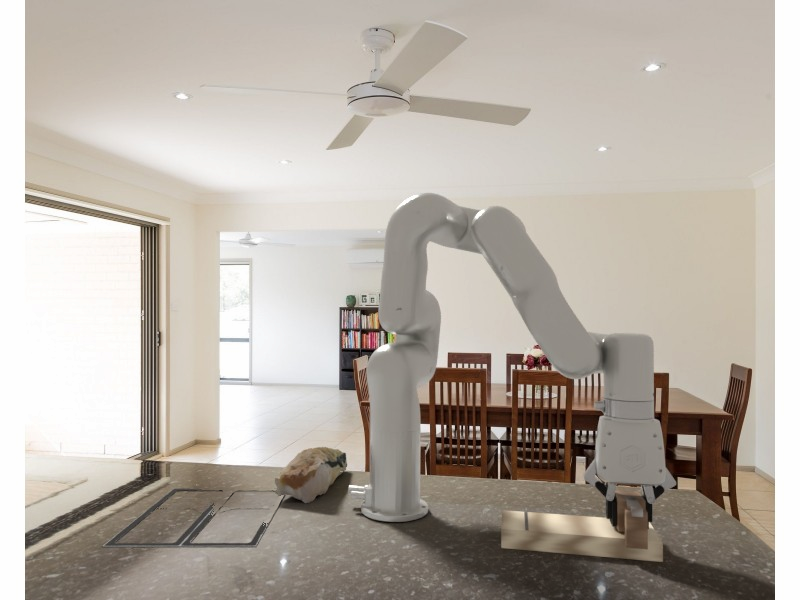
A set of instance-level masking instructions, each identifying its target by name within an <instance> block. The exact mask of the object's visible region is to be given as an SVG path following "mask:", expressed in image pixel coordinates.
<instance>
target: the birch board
mask: <svg viewBox="0 0 800 600" xmlns="http://www.w3.org/2000/svg"><path fill="white" fill-rule="evenodd" d="M501 512H502V513H501V528H500V530H501V533H500V534H501V535H500V541H501V542H500V544H501V545H500V547H501V549H509V550H511V549H512V550H520V551H521V550H523V551H534V552H544V553H545V552H546V553H555V554H556V553H557V554H565V555H566V554H567V555H568V554H569V555H580V556H588V557H589V556H590V557H601V558H603V557H604V558H612V559H623V560H624V559H626V560H636V561H645V562H646V561H648V562H659V563H663V562H664V547H663V546H664V542H663V540H662V539H661V537H660V536H659V534H658V532H657V531H656V530H655V528H654V527H653V525H652V523H651V522H649V529H648V549H636V548H626V546H625V532H618V530H617V528H616V527H613V526H612V524H611V522H610V519H607V518H606V517H601V516H587V515H574V514H559V513H547V512H534V511H533V512H531V511H519V510H504V509H502V510H501Z"/></svg>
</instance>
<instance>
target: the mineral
mask: <svg viewBox="0 0 800 600" xmlns="http://www.w3.org/2000/svg"><path fill="white" fill-rule="evenodd" d="M347 462H348V461H347V454H346V452H342V451H341V450H340V449H339V448H336V449H334V448H331V447H326V446H318V447H310V448H307V449H303V450H302V451H301V452H298V453H297V454H296V456H294V458H293V459H292V460H291V461H289V462H288V464H287V465H286V466H284V468H282V469H281V472H280V473H279V475H278V476H277V477H275V478H274V484H275V486H276V489H277V490H276V491H274V492H275V494H276V495H277V497H278V496H281V495H285V494H286V495H285V496H292V497H293V498H294V499H296V500H299V501H302V503H304V504H309V503H311V502H313V501H315V499H316V497H318V495H320V496H322V495H325V494H326V492H327V491H328V489H329V487H330V486H333V484H334V482H335V481H336V479H337V478H338V477H339V476H340V475H342V473H344V472H345V471H346V470H347V467H348V463H347ZM340 471H344V472H340Z"/></svg>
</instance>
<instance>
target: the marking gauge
mask: <svg viewBox="0 0 800 600" xmlns="http://www.w3.org/2000/svg"><path fill="white" fill-rule="evenodd" d="M615 500H616V501H617V526H616V528H617V530H618V532H625V546H626V548H636V549H648V513H647V511H646V501H645V500H644V498H643V497H642V494H641V493H640V492H639V491H637V490H636V491H634V490H620V489H619V490H618V489H616V490H615Z"/></svg>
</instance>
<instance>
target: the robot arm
mask: <svg viewBox="0 0 800 600" xmlns="http://www.w3.org/2000/svg"><path fill="white" fill-rule="evenodd" d="M385 229H386V230H385V236H384V251H383V261H382V262H383V263H382V270H381V279H380V280H381V281H380V291H379V300H378V301H379V302H378V310H377V311H378V312H377V313H378V315H377V316H378V321H379V324H380V326H381V328H383V330H385V332H387V333H389V334H391V335H395V338H394V339H395V340H394V342H389V343H385V344H383V345H381V346H379V347H378V348H376V349H375V350H374V351H373V353H372V354H371V355H370V357H369V359H368V362H367V365H366V381H367V389H368V395H369V396H368V397H369V410H370V411H369V413H370V414H369V415H370V419H369V426H370V427H369V428H370V429H369V431H370V433H369V484H365V485H364V486H359V485H355V484H354V485H353V484H349V485H348V487H347V488H348V489H347V494H348V496H350V499H356V500H361V499H362V501H363V502H361V505H360V511H361V514H363V515H364V516H365V517H366V518H369V519H372V520H375V521H380V522H387V523H388V522H389V523H402V522H411V521H415V520H419V519H421V518H423V517H424V516H426V515H427V514H428V512H429V504H428V503H427V502H426V501H425V500H424V499H421V435H422V433H421V432H422V431H421V407H420V401H419V394H418V388H422V387H423V386H425V385H427V383H429V382H430V381H431V380H432V379H433V377H434V375H435V374H436V373H435V372H436V370H437V365H438V364H437V363H438V359H439V357H438V356H439V345H440V337H441V336H440V334H441V323H442V315H441V314H442V311H441V307H440V303H439V301H438V299H437V298H436V296H435V295H434V294H433V293H432V292H430V291H429V290H428V289H427V276H428V270H429V267H428V264H429V262H428V254H427V247H428V244H429V243H430V242H431V243H434V244H437V245H439V246H442V247H445V248H446V247H447V248H451V249H456V250H460V251H465V252H469V253H474V254H479V255H482V256H483V258H484V259H485V261H486V263H488V265H489V266H490V268H491V270H492V272H493V273H494V274H495V276H496V277H497V279H498V280H499V282H500V283H501V285H502V286H503V288H504V290H506V292H507V294H508V296H509V297H510V299H511V301H512V303H513V305H514V307H515V309H516V310H517V311H518V314H519V315H520V317H521V319H522V320H523V323H524V324H525V326H526V328H527V330H528V331H529V332H530V333H529V334H531V336H532V337H533V339H534V340H535V342H536V344H537V345H538V347H539V348H540V350H541V351H542V353H543V354H544V356H545V357H546V359H547V360H548V362H549V363H550V364H551V366H552V367H553V368H554V369H555V371H556V372H557V373H559V374H560V375H562V377H565V378H568V379H571V380H581V379H582V380H583V379H585V378H588V377H590V376H591V375H594V374H603V397H602V399H601V400H599V401H594V403H593V405H594V411H595V410H596V411H601V412H602V414H603V415H600V416H599V418H598V419H599V420H598V424H597V429H596V436H595V447H594V449H595V450H594V459H593V460H592V461H591V462H590V464H589V465H588V467H587V469H586V470H585V471H584V473H582V474H583V475H582V476H583V477H582V478H583V479H584V480H585V481H586V482H587V483H588V484H590V485H591V486H593V487H594V488H595V489H596V490H597V491H598V492H599V493H601V495H602V496H604V497H605V518H607V519H610V522H611V524H612V526H613V527H616V526H617V501H616V500H615V490H617V485H618V484H620V485H629V486H630V485H634V486H640V487H641V490H642V491H641V492H642V494H641V496H642V497H643V498H644V500H645V501H646V511H647V513H648V529H649V522H650V523H653V504H654V503H655V502H656V500H657V499H658V498H659V497H661V495H663V494H664V493H665V492H666V491H668V490H670V489H672V488H673V487H675V486H677V481H676V480H675V478H674V477H673V475H672V474H671V472H670V471H669V470H668V468H667V467H666V458H665V457H666V456H665V455H666V454H665V446H664V445H665V444H664V437H663V436H664V435H663V432H662V426H661V422H660V420H659V419H657V418H655V385H654V384H655V383H654V380H655V377H654V376H655V375H654V374H655V372H654V371H655V370H654V369H655V358H654V357H655V356H654V355H655V354H654V352H655V351H654V350H655V349H654V347H655V345H654V341H653V339H652V337H651V336H650V335H648V334H644V333H636V332H635V333H633V332H632V333H631V332H618V333H617V332H616V333H610V334H607V333H598V332H592V331H587V330H586V328H585V327H584V325H583V324H582V322H581V321H580V319H579V318H578V317H577V315H576V314H575V313H574V311H573V309H572V308H571V306H570V305H569V303H568V301H567V300H566V298H565V296H564V295H563V293H562V290H561V289H560V286H559V283H558V279H557V275H556V274H555V271H554V270H553V268H552V267H551V266H550V264H549V263H548V261H547V259H546V258H545V257H544V255H543V254H542V253H541V251H540V250H539V249H538V247H537V246H536V244H535V243H534V241H533V240H532V239H531V237H530V236H529V234H528V233H527V230H526V227H525V224H524V223H523V221H522V220H521V218H519V217H518V216H517V215H516V214H515V213H513V212H512V211H511V210H510V209H508V208H507V207H504V206H502V205H501V206H499V205H491V206H488V207H484V208H483V209H481V210H480V209H476V208H471V207H466V206H460V205H458V204H456V203H455V202H453V201H452V200H450V199H449V198H447V197H445V196H443V195H441V194H438V193H434V192H423V193H418V194H415V195H413V196H411V197H408V198H407V199H405V200H403V202H402V203H400V204H399V205H398V206H397V207H396V208H395V210H394V211H393V212H392V214H391V215H390V218H389V221H388V223H387V226H386V228H385ZM596 474H597V477H598V478H599V479H598V478H597V477H596Z"/></svg>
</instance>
